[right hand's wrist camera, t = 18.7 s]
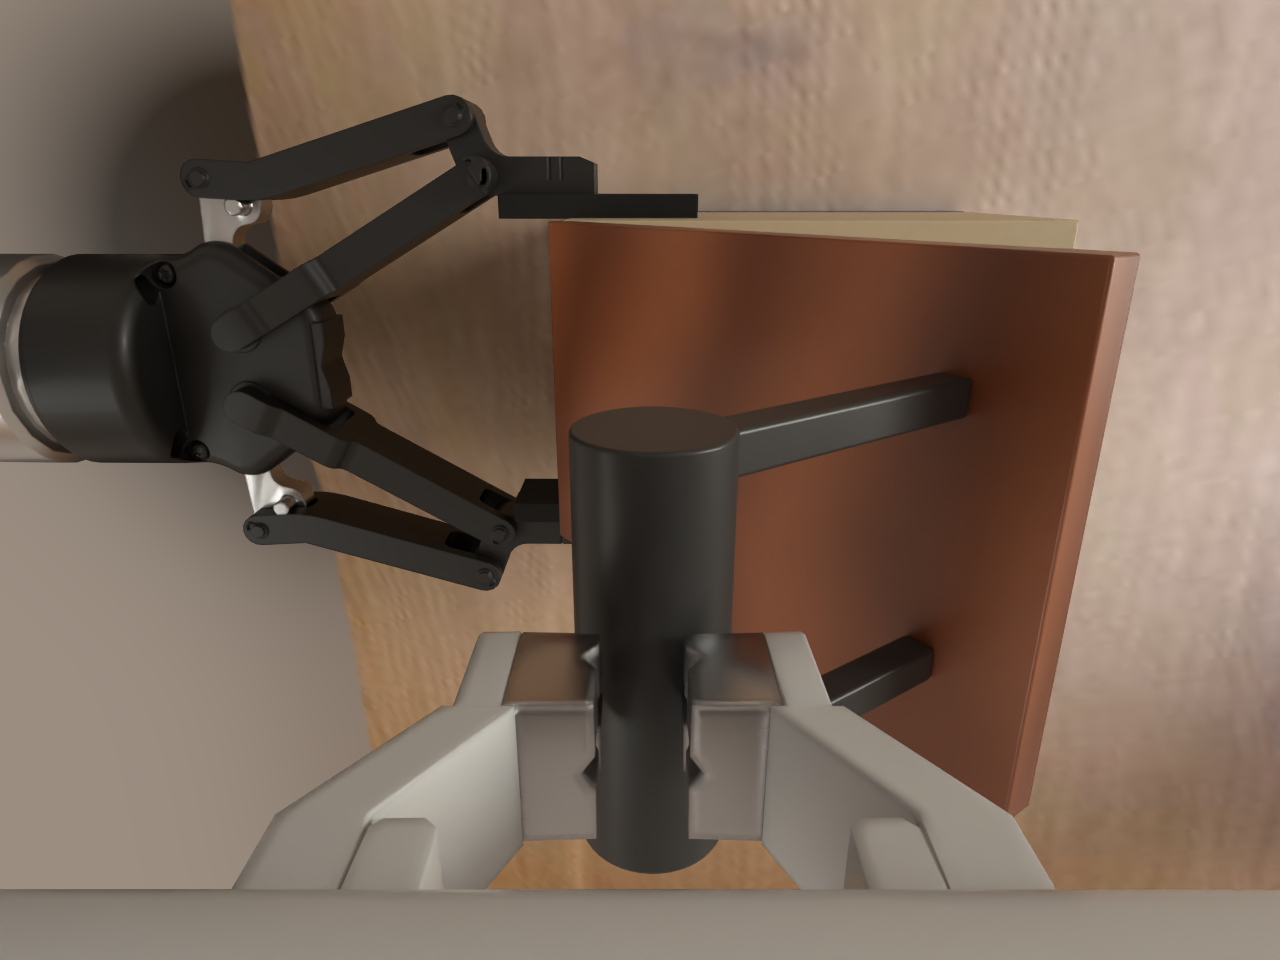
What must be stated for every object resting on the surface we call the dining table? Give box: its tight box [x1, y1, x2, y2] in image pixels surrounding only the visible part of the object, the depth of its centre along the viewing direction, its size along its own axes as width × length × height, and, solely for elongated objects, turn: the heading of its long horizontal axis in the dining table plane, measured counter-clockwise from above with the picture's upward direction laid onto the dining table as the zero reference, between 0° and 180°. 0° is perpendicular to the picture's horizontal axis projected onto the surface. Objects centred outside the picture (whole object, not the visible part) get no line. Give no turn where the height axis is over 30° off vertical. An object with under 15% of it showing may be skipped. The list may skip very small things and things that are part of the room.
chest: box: [563, 211, 1079, 249], centre depth 31 cm, size 16×10×10 cm, turn 90°
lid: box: [548, 221, 1140, 874], centre depth 17 cm, size 16×10×8 cm
